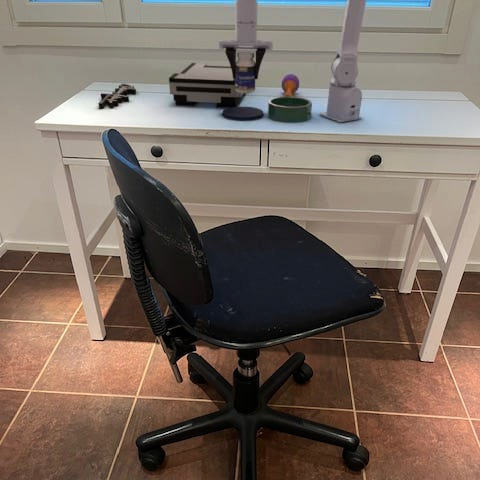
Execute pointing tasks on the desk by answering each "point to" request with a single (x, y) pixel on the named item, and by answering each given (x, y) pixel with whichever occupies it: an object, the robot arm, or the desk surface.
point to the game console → (205, 86)
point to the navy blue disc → (242, 113)
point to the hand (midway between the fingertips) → (245, 78)
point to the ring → (289, 109)
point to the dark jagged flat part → (117, 96)
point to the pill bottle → (245, 72)
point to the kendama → (290, 85)
